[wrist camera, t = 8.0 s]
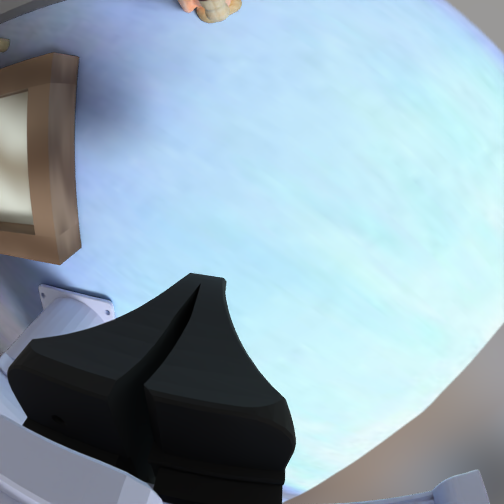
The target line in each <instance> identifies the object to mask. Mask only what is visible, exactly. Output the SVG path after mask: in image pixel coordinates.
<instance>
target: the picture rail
mask: <svg viewBox="0 0 504 504" xmlns="http://www.w3.org/2000/svg"><path fill="white" fill-rule="evenodd" d="M62 1H65V0H0V24H1V23H3V22H6V21H8V20H10V19H13V18H15V17H18V16H20V15H23V14H26V13H28V12H31V11H34V10H37V9H39V8H42V7H45V6H49V5H52V4H55V3H58V2H62ZM9 43H10V41H9V39H3V38H0V52H5V51H6V50H7V49H8V47H9Z"/></svg>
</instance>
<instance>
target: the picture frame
mask: <svg viewBox="0 0 504 504" xmlns="http://www.w3.org/2000/svg"><path fill="white" fill-rule="evenodd" d="M78 64H79V57H77V56H72V55H66V54H61V53H55V52H52V53H49V54H45V55H41V56H38V57H35V58H31V59H28V60H25V61H22V62H19V63H16V64H13V65H10V66H7V67H4V68H1V69H0V254H4V255H9V256H14V257H20V258H25V259H30V260H35V261H40V262H46V263H51V264H57V265H61V264H62V263H63V262H65V261H66V260H67V259H68V258H69V257H71V256H72V255H73V254H74V253H75V252H77V251H78V250H79V249H80V248H82V247H81V239H80V231H79V221H78V210H77V198H76V181H75V146H74V136H75V102H76V86H77V74H78Z"/></svg>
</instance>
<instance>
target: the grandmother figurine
mask: <svg viewBox="0 0 504 504" xmlns="http://www.w3.org/2000/svg"><path fill="white" fill-rule="evenodd" d="M178 2H179V4H180V5H181V7H182V9H183V10H184V11H185V12H187V13H190V12H191V11H193V10H194V9H195V8H196V7H197V8H196V12H197V15H198V16H199V18H200V19H201V20H202V21H204V22H206V23H215V22H220V21H223V20H225V19H226V18H227V17H228V16H229V15H231V14H233V13H235V12H236V11H238V10H239V9H240V8H241V5H242V2H241V0H178Z"/></svg>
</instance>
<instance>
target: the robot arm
mask: <svg viewBox="0 0 504 504" xmlns="http://www.w3.org/2000/svg"><path fill="white" fill-rule="evenodd" d="M38 290H39V294H40V298H41V302H42V306H43V312H42V313H41V314H40V315H39V316H38V317H37V318H36V319H35V320H34V321H33V322H32V323H31V324H30V325H29V326H28V327H27V329H26V330H25V331H24V332H23V333H22V334H21V335H20V336H19V337H18V339H17V340H16V341H15V342H14V343H13V344H12V345H11V346H10V348H9V349H8V350H7V351H6V352H4V353H3V354H2V355H1V356H0V504H282V485H283V484H284V482H285V468H286V466H287V464H288V462H289V460H290V458H291V456H292V454H293V453H294V450H295V445H296V437H295V431H294V425H293V421H292V417H291V414H290V411H289V408H288V405H287V402H286V399H285V398H284V397H283V396H282V395H281V394H280V393H279V392H278V391H277V390H276V389H274V388H273V387H272V386H271V384H270V383H269V382H268V381H267V380H266V379H265V378H264V376H263V375H262V374H261V373H260V371H259V370H258V369H257V367H256V366H255V364H254V363H253V361H252V360H251V359H250V357H249V356H248V354H247V353H246V351H245V349H244V347H243V345H242V344H241V342H240V340H239V337H238V335H237V333H236V331H235V328H234V326H233V323H232V320H231V317H230V314H229V310H228V306H227V302H226V295H225V290H226V280H225V279H224V278H220V277H214V276H207V275H201V274H195V273H189V274H188V275H187V276H185V277H184V278H182V279H181V280H180V281H178V282H177V283H176V284H174V285H173V286H171V287H170V288H169V289H167V290H166V291H164V292H163V293H161V294H160V295H159V296H157V297H155V298H154V299H152V300H150V301H149V302H147V303H146V304H144V305H142V306H141V307H139V308H137V309H135V310H133V311H131V312H129V313H127V314H125V315H123V316H121V317H118V318H116V319H115V312H114V306H113V303H112V302H111V301H109V300H105V299H101V298H97V297H92V296H88V295H84V294H80V293H76V292H72V291H68V290H64V289H60V288H56V287H52V286H49V285H45V284H41V285H40V286H39V287H38ZM107 310H108V311H109V312H108V311H107ZM337 504H490V501H489V498H488V495H487V493H486V489H485V486H484V483H483V480H482V477H481V474H480V471H479V470H473V471H470V472H467V473H463V474H459V475H455V476H452V477H449V478H447V479H446V480H444V481H442V482H441V483H440V484H438V485H437V486H436V487H435V488H434V489H433V490H432V491H427V492H423V493H418V494H412V495H407V496H401V497H395V498H389V499H381V500H373V501H364V502H352V503H337Z"/></svg>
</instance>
